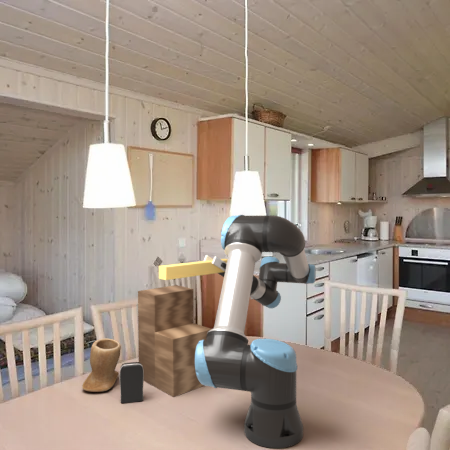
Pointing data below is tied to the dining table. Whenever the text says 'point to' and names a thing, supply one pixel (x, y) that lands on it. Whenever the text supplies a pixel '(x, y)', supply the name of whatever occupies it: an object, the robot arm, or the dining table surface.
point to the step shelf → (169, 338)
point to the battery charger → (131, 382)
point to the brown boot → (103, 365)
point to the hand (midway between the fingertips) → (209, 259)
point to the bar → (188, 269)
